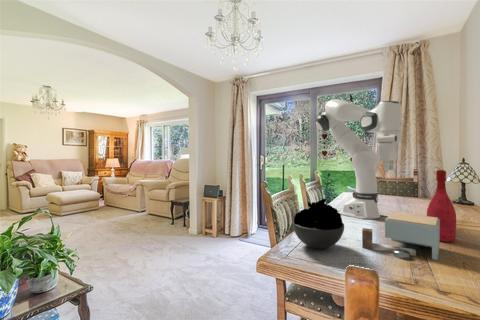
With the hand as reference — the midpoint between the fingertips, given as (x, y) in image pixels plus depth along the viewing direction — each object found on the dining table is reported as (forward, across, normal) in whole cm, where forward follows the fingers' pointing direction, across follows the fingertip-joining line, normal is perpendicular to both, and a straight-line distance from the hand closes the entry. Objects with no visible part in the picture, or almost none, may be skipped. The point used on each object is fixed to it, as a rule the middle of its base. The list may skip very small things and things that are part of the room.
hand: (388, 170), depth 104 cm
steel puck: (+30, +16, +7) cm, 35 cm away
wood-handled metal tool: (+30, +13, +2) cm, 33 cm away
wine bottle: (+30, -15, +18) cm, 38 cm away
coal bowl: (+31, +27, -20) cm, 45 cm away
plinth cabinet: (+30, +5, +9) cm, 32 cm away
